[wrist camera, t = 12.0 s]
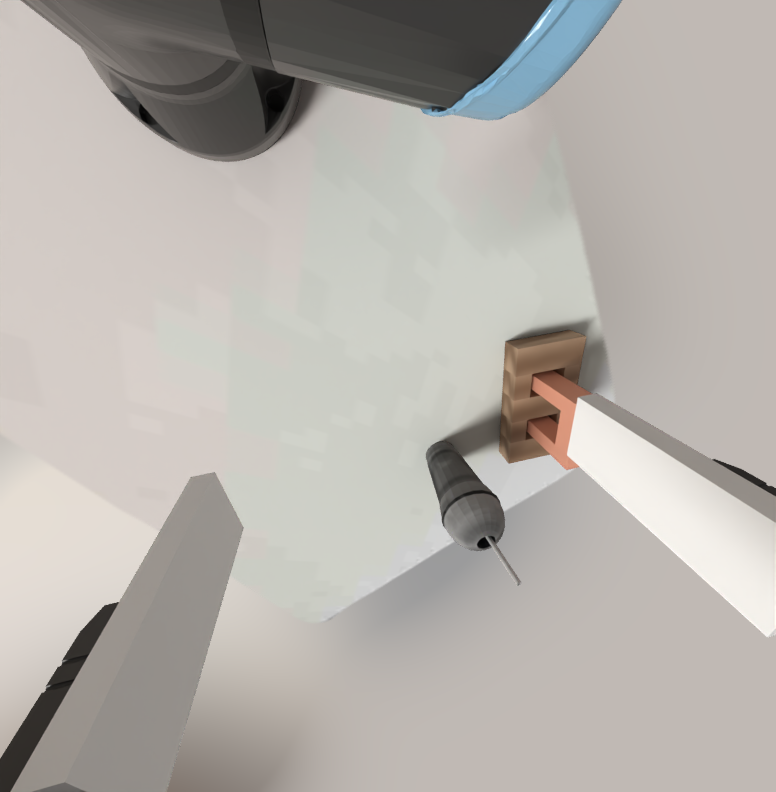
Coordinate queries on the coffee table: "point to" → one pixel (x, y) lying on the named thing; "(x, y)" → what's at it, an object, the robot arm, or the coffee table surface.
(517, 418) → the slotted wooden board
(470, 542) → the beverage cup
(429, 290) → the coffee table surface
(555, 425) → the block
